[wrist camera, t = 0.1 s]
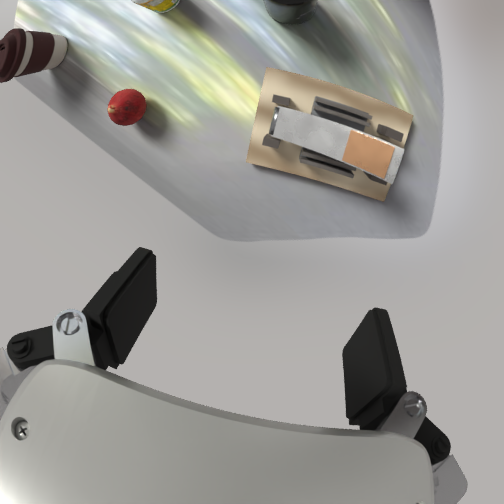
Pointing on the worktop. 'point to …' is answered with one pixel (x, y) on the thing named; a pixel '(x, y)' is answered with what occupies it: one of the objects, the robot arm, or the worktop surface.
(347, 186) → the heatsink base
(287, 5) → the supplement bottle
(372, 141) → the strap
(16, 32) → the coffee cup
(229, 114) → the worktop surface
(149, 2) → the supplement bottle
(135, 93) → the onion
